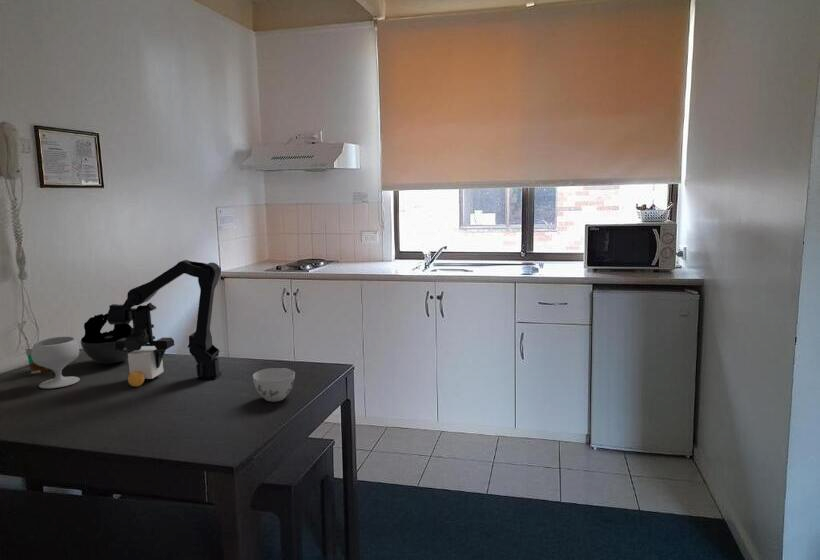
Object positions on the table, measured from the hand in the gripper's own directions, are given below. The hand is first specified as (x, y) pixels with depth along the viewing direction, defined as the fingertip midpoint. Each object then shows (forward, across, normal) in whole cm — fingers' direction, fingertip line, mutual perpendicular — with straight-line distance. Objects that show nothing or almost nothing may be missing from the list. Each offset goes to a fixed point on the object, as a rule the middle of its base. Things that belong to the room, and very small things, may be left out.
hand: (146, 367), depth 203 cm
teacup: (+4, +51, -17) cm, 54 cm away
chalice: (+4, -29, -5) cm, 30 cm away
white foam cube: (+2, 0, 0) cm, 3 cm away
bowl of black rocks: (+4, -24, +19) cm, 31 cm away
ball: (+2, 0, -7) cm, 7 cm away
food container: (+4, -43, +9) cm, 44 cm away
